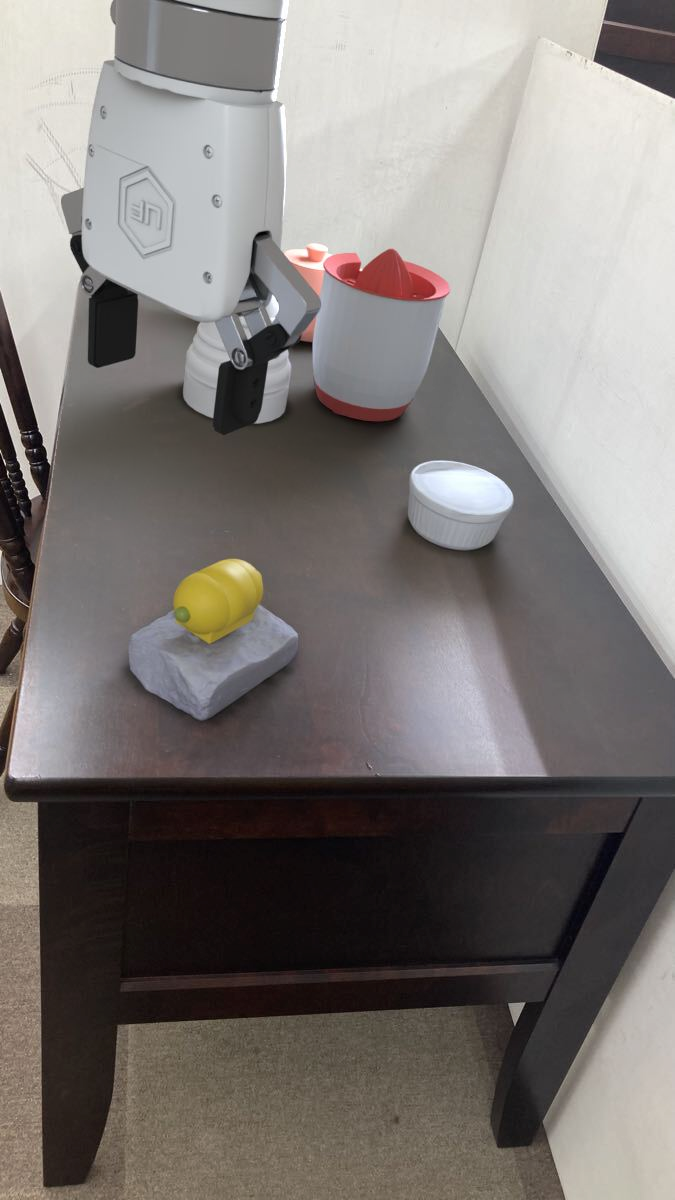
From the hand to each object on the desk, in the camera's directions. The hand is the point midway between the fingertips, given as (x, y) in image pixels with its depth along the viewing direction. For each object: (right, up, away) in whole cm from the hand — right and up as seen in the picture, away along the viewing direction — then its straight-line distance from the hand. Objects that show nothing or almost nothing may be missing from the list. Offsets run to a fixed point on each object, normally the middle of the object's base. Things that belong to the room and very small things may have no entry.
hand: (171, 393), depth 51 cm
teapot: (+4, +29, +84) cm, 89 cm away
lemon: (0, -13, +19) cm, 23 cm away
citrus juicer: (+12, +14, +67) cm, 70 cm away
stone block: (-1, -17, +21) cm, 27 cm away
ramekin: (+22, -4, +45) cm, 50 cm away
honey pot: (-3, +13, +61) cm, 62 cm away
